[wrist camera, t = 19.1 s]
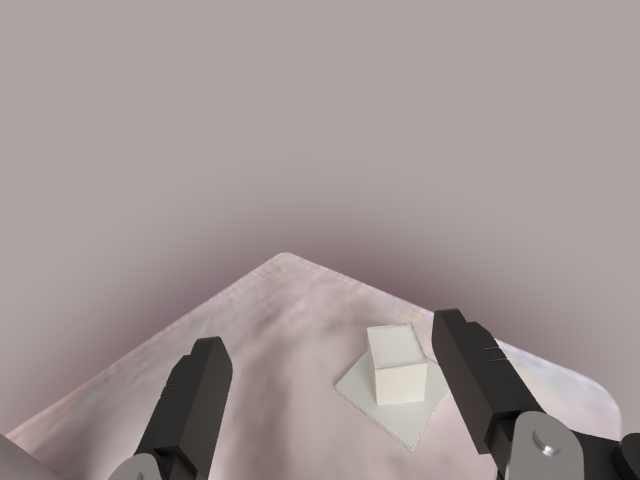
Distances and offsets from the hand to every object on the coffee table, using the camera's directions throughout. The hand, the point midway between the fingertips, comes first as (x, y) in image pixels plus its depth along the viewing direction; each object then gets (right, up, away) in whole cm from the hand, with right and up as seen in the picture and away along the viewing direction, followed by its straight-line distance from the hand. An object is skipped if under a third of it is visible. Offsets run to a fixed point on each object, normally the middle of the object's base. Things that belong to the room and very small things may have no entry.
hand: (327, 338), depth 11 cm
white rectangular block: (+10, -16, +30) cm, 36 cm away
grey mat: (+10, -17, +31) cm, 37 cm away
